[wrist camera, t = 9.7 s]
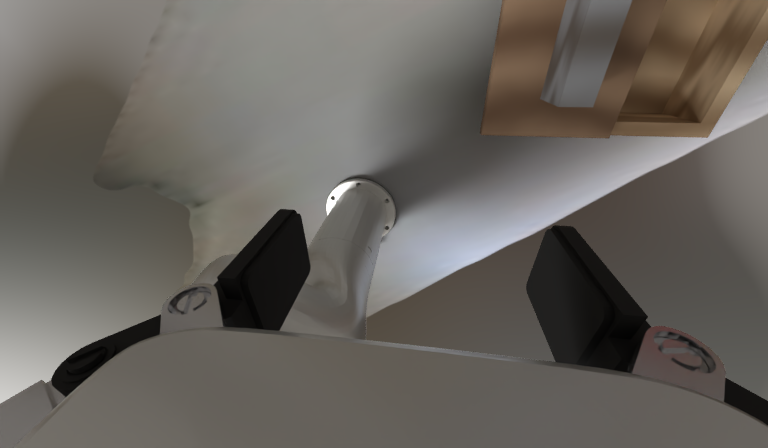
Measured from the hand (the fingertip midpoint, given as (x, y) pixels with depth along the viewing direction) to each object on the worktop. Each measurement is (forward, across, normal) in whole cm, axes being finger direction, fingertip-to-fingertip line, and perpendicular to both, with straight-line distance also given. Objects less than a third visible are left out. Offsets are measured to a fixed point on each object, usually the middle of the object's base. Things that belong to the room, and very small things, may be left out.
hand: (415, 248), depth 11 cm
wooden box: (+34, -25, -7) cm, 43 cm away
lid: (+27, -14, -7) cm, 31 cm away
